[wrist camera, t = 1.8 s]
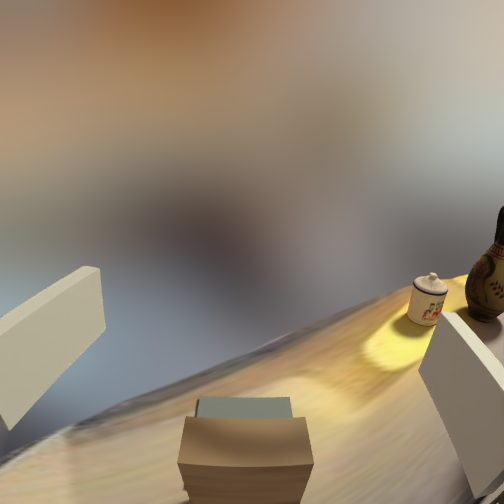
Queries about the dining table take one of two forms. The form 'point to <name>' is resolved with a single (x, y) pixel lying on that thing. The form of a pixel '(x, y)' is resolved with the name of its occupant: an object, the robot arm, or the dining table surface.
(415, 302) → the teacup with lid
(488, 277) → the ceramic jug
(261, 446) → the walnut slab
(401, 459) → the dining table surface
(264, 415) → the slate mat
